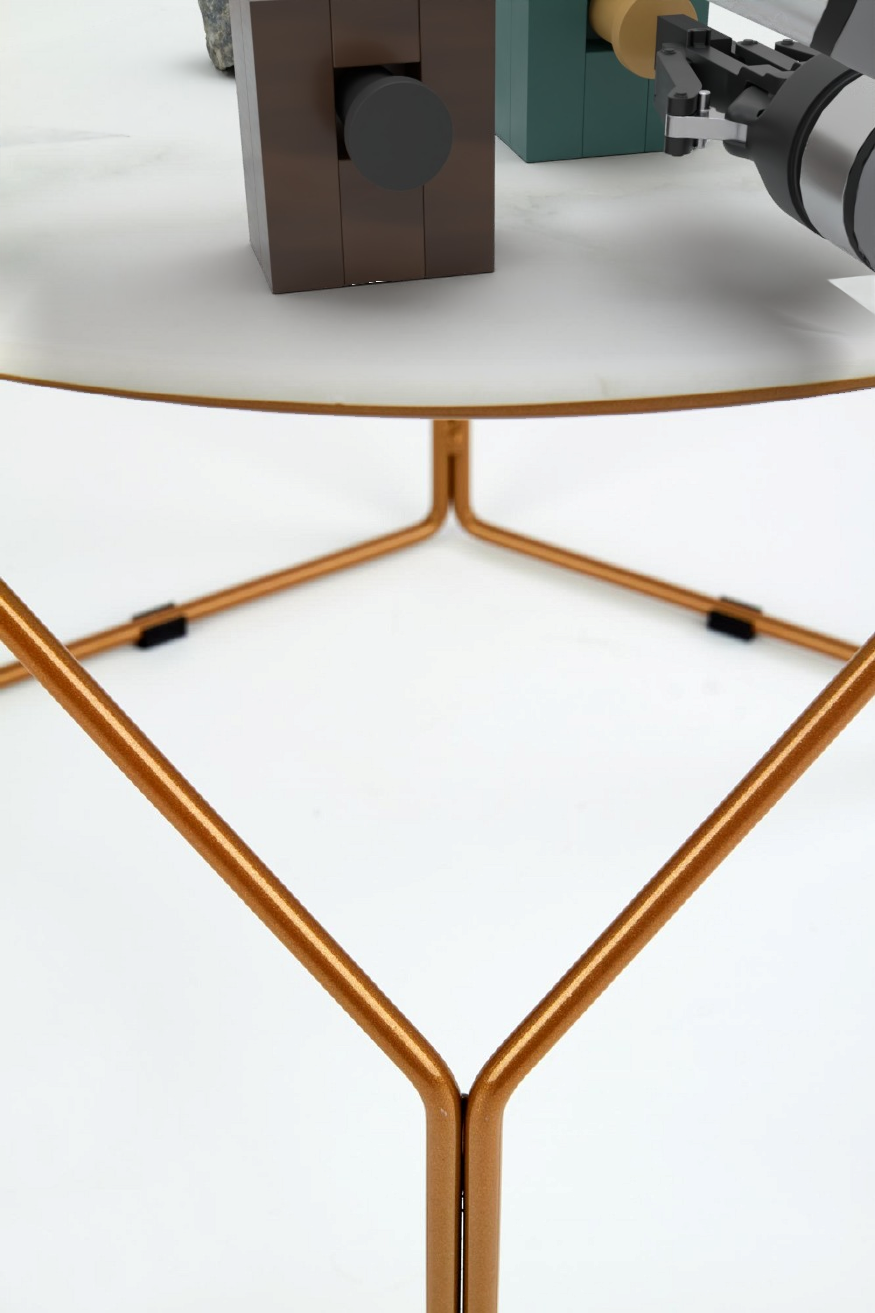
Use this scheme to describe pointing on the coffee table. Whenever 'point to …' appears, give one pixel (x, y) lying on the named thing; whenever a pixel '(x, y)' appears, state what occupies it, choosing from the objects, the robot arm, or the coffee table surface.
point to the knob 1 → (393, 127)
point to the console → (569, 85)
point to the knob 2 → (634, 28)
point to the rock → (218, 31)
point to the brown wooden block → (314, 152)
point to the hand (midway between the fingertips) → (668, 41)
